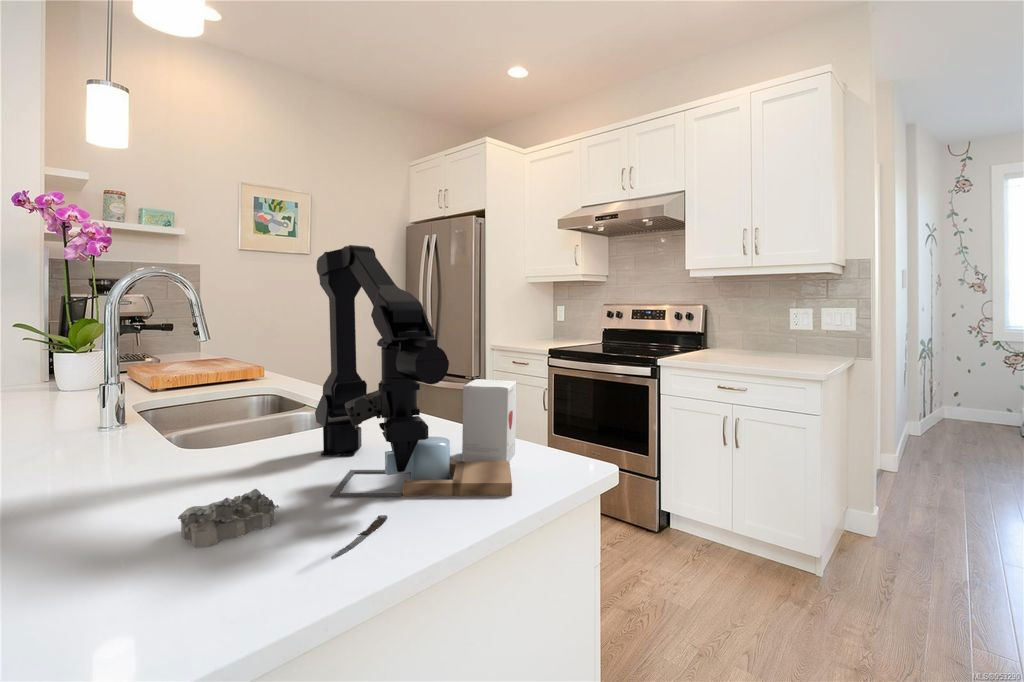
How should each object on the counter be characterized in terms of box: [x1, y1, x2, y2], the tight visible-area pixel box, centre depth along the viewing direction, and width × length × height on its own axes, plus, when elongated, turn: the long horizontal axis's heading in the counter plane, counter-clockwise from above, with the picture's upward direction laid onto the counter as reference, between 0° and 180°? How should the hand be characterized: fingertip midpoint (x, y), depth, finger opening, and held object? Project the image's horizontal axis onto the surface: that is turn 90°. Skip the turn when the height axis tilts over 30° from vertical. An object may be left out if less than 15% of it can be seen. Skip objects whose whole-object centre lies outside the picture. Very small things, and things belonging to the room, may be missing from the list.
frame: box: [329, 469, 411, 498], centre depth 87 cm, size 11×12×1 cm
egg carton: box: [177, 488, 280, 549], centre depth 69 cm, size 11×8×4 cm
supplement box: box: [461, 378, 517, 462], centre depth 101 cm, size 9×9×15 cm
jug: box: [384, 436, 451, 480], centre depth 86 cm, size 11×6×7 cm, turn 117°
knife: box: [330, 514, 388, 561], centre depth 66 cm, size 17×1×3 cm
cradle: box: [402, 460, 513, 497], centre depth 87 cm, size 17×11×2 cm, turn 93°
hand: (399, 469), depth 85 cm, fingers closed on jug
